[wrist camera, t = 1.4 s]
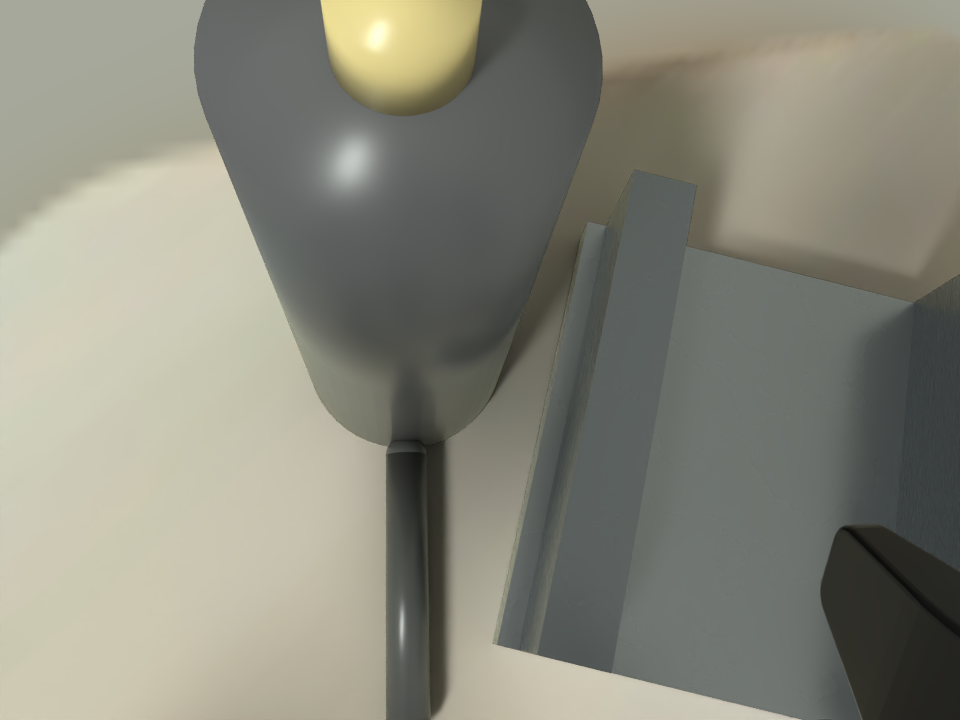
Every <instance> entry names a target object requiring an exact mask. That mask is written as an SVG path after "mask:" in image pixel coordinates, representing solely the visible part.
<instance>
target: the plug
mask: <svg viewBox="0 0 960 720" xmlns="http://www.w3.org/2000/svg"><path fill="white" fill-rule="evenodd" d="M194 72H195V78H196V84H197V91H198V95H199V98H200V101H201V105H202V107H203V110H204V114H205V117H206V119H207V122H208V124H209V127H210V129H211V132H212V134H213V137H214V139H215V142H216V144H217V147H218V149H219V152H220V154H221V157H222V159H223V162H224V164H225V166H226V169H227V171H228V174H229V176H230V179H231V181H232V184H233V186H234V189H235V191H236V194H237V196H238V199H239V201H240V204H241V206H242V209H243V211H244V214H245V216H246V219H247V221H248V223H249V226H250V228H251V231H252V233H253V236H254V238H255V241H256V243H257V246H258V248H259V251H260V253H261V256H262V258H263V261H264V263H265V266H266V268H267V271H268V273H269V276H270V278H271V281H272V283H273V285H274V288H275V290H276V293H277V295H278V298H279V300H280V303H281V305H282V308H283V310H284V313H285V315H286V318H287V320H288V323H289V325H290V328H291V330H292V333H293V335H294V338H295V340H296V342H297V345H298V347H299V350H300V352H301V355H302V357H303V360H304V362H305V365H306V367H307V370H308V372H309V375H310V377H311V380H312V382H313V385H314V387H315V390H316V392H317V394H318V396H319V398H320V400H321V402H322V403H323V404H324V406H325V407H326V409H327V410H328V412H329V413H330V414H331V415H332V416H333V417H334V418H335V419H336V421H338V422H339V423H340V424H341V425H342V426H343V427H345V428H346V429H347V430H349V431H350V432H352V433H354V434H355V435H357V436H359V437H361V438H363V439H365V440H367V441H370V442H373V443H376V444H379V445H384V446H388V449H387V452H386V720H430V718H431V712H430V642H429V572H428V502H427V452H426V449H425V445H430V444H434V443H437V442H439V441H442V440H445V439H447V438H449V437H451V436H453V435H455V434H456V433H458V432H459V431H461V430H462V429H464V428H465V427H466V426H468V425H469V424H470V423H471V422H472V421H473V420H474V419H475V418H476V417H477V416H478V415H479V414H480V412H481V411H482V410H483V409H484V407H485V406H486V404H487V402H488V401H489V399H490V397H491V395H492V393H493V391H494V389H495V386H496V384H497V381H498V378H499V375H500V373H501V370H502V367H503V365H504V362H505V359H506V357H507V354H508V351H509V348H510V346H511V343H512V340H513V338H514V335H515V332H516V329H517V327H518V324H519V321H520V319H521V316H522V313H523V311H524V308H525V305H526V302H527V300H528V297H529V294H530V292H531V289H532V286H533V283H534V281H535V278H536V275H537V273H538V270H539V267H540V264H541V262H542V259H543V256H544V254H545V251H546V248H547V246H548V243H549V240H550V237H551V235H552V232H553V229H554V227H555V224H556V221H557V218H558V216H559V213H560V210H561V208H562V205H563V202H564V200H565V197H566V194H567V191H568V189H569V186H570V183H571V181H572V178H573V175H574V172H575V170H576V167H577V164H578V162H579V159H580V156H581V153H582V151H583V148H584V145H585V143H586V140H587V137H588V135H589V132H590V129H591V126H592V124H593V121H594V117H595V114H596V111H597V107H598V104H599V100H600V93H601V86H602V52H601V46H600V40H599V34H598V31H597V27H596V24H595V21H594V18H593V15H592V12H591V10H590V8H589V6H588V4H587V2H586V0H206V1H205V3H204V7H203V10H202V13H201V16H200V19H199V22H198V26H197V33H196V40H195V46H194Z"/></svg>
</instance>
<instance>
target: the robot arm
mask: <svg viewBox="0 0 960 720" xmlns="http://www.w3.org/2000/svg"><path fill="white" fill-rule="evenodd" d="M820 597H821V603H822V607H823V610H824V613H825V616H826V619H827V622H828V625H829V628H830V630H831V633H832V636H833V639H834V642H835V645H836V648H837V651H838V653H839V656H840V659H841V662H842V665H843V668H844V671H845V673H846V676H847V679H848V682H849V685H850V688H851V691H852V693H853V696H854V699H855V702H856V705H857V708H858V711H859V714H860V716H861V719H862V720H960V571H958V570H957V569H955V568H953V567H952V566H950V565H948V564H947V563H945V562H943V561H942V560H940V559H938V558H937V557H935V556H933V555H932V554H930V553H928V552H927V551H925V550H923V549H922V548H920V547H918V546H917V545H915V544H913V543H911V542H910V541H908V540H906V539H905V538H903V537H901V536H900V535H898V534H896V533H895V532H893V531H891V530H890V529H888V528H886V527H884V526H882V525H879V524H852V525H845V526H842V527H841V528H839V530H838V531H837V532H836V534H835V537H834V540H833V543H832V546H831V550H830V553H829V557H828V560H827V563H826V567H825V570H824V574H823V577H822V581H821V586H820Z"/></svg>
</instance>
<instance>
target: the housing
mask: <svg viewBox="0 0 960 720" xmlns="http://www.w3.org/2000/svg"><path fill="white" fill-rule="evenodd" d="M696 187H697V185H694V184H690V183H686V182H682V181H678V180H674V179H670V178H666V177H662V176H658V175H654V174H650V173H646V172H642V171H638V170H634V172H633V174H632V176H631V178H630V180H629V182H628V184H627V186H626V188H625V190H624V192H623V194H622V196H621V198H620V200H619V202H618V204H617V206H616V208H615V210H614V212H613V214H612V216H611V218H610V220H609V222H608V224H607V226H604V225H600V224H596V223H592V222H588V223H587V225H586V227H585V229H584V232H583V234H582V236H581V239H580V244H579V248H578V253H577V258H576V262H575V267H574V271H573V276H572V281H571V285H570V290H569V294H568V299H567V304H566V308H565V313H564V318H563V322H562V327H561V331H560V336H559V341H558V345H557V350H556V354H555V359H554V364H553V368H552V373H551V377H550V382H549V387H548V391H547V396H546V401H545V405H544V410H543V414H542V419H541V424H540V428H539V433H538V437H537V442H536V447H535V451H534V456H533V460H532V465H531V470H530V474H529V479H528V483H527V488H526V493H525V497H524V502H523V507H522V511H521V516H520V520H519V525H518V530H517V534H516V539H515V543H514V548H513V553H512V557H511V562H510V566H509V571H508V576H507V580H506V585H505V590H504V594H503V599H502V603H501V608H500V613H499V617H498V622H497V626H496V631H495V636H494V640H493V644H496V645H500V646H504V647H508V648H512V649H516V650H520V651H524V652H528V653H531V654H535V655H539V656H543V657H547V658H551V659H556V660H560V661H564V662H568V663H572V664H576V665H580V666H584V667H588V668H592V669H596V670H600V671H605V672H609V673H614V674H618V675H622V676H626V677H631V678H635V679H639V680H643V681H647V682H651V683H655V684H659V685H663V686H667V687H671V688H675V689H680V690H684V691H688V692H692V693H696V694H700V695H704V696H708V697H712V698H716V699H720V700H724V701H729V702H733V703H737V704H741V705H745V706H749V707H753V708H757V709H761V710H765V711H769V712H773V713H778V714H782V715H786V716H790V717H794V718H798V719H802V720H862V719H861V716H860V714H859V711H858V708H857V705H856V702H855V699H854V696H853V693H852V691H851V688H850V685H849V682H848V679H847V676H846V673H845V671H844V668H843V665H842V662H841V659H840V656H839V653H838V651H837V648H836V645H835V642H834V639H833V636H832V633H831V630H830V628H829V625H828V622H827V619H826V616H825V613H824V610H823V607H822V603H821V597H820V586H821V581H822V577H823V574H824V570H825V567H826V563H827V560H828V557H829V553H830V550H831V546H832V543H833V540H834V537H835V534H836V532H837V531H838V530H839V528H841V527H842V526H845V525H852V524H879V525H882V526H884V527H886V528H888V529H890V530H891V531H893V532H895V533H896V534H898V535H900V536H901V537H903V538H905V539H906V540H908V541H910V542H911V543H913V544H915V545H917V546H918V547H920V548H922V549H923V550H925V551H927V552H928V553H930V554H932V555H933V556H935V557H937V558H938V559H940V560H942V561H943V562H945V563H947V564H948V565H950V566H952V567H953V568H955V569H957V570H958V571H960V274H959V275H958V276H956V277H955V278H953V279H951V280H950V281H948V282H947V283H945V284H943V285H942V286H940V287H939V288H937V289H935V290H934V291H932V292H931V293H929V294H928V295H926V296H924V297H923V298H921V299H920V300H918V301H916V302H915V303H913V302H909V301H905V300H901V299H897V298H893V297H889V296H885V295H881V294H877V293H873V292H869V291H865V290H861V289H857V288H853V287H849V286H845V285H841V284H837V283H833V282H829V281H825V280H821V279H817V278H813V277H809V276H805V275H801V274H797V273H793V272H789V271H785V270H781V269H777V268H772V267H768V266H764V265H760V264H756V263H752V262H748V261H744V260H740V259H736V258H732V257H728V256H724V255H720V254H716V253H712V252H708V251H704V250H700V249H696V248H692V247H688V246H686V244H687V238H688V233H689V227H690V221H691V215H692V210H693V204H694V198H695V193H696Z"/></svg>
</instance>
